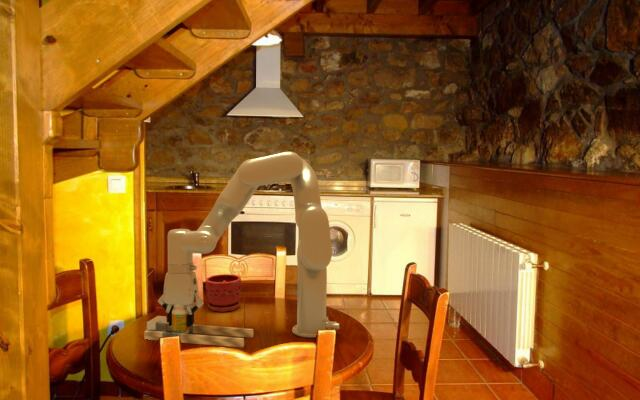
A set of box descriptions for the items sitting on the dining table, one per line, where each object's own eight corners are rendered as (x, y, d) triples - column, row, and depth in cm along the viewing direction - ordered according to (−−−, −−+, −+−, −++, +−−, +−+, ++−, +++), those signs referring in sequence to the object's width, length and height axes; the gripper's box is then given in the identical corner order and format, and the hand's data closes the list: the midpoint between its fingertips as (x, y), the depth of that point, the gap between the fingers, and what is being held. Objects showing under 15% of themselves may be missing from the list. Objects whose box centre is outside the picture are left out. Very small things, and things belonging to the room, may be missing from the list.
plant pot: (206, 304, 200) (206, 274, 199) (240, 303, 202) (240, 273, 202) (205, 314, 187) (205, 281, 186) (241, 313, 190) (241, 280, 189)
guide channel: (253, 336, 163) (253, 321, 163) (242, 347, 154) (242, 331, 153) (160, 329, 169) (160, 314, 169) (144, 339, 160) (144, 323, 159)
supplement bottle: (175, 336, 159) (174, 305, 158) (169, 331, 163) (169, 301, 163) (192, 333, 162) (191, 302, 161) (186, 328, 166) (186, 299, 166)
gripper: (210, 267, 163) (211, 323, 165) (160, 265, 167) (161, 320, 168) (201, 272, 156) (201, 330, 157) (149, 269, 159) (149, 327, 160)
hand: (180, 324), depth 163 cm, fingers closed on supplement bottle, 5 cm apart
